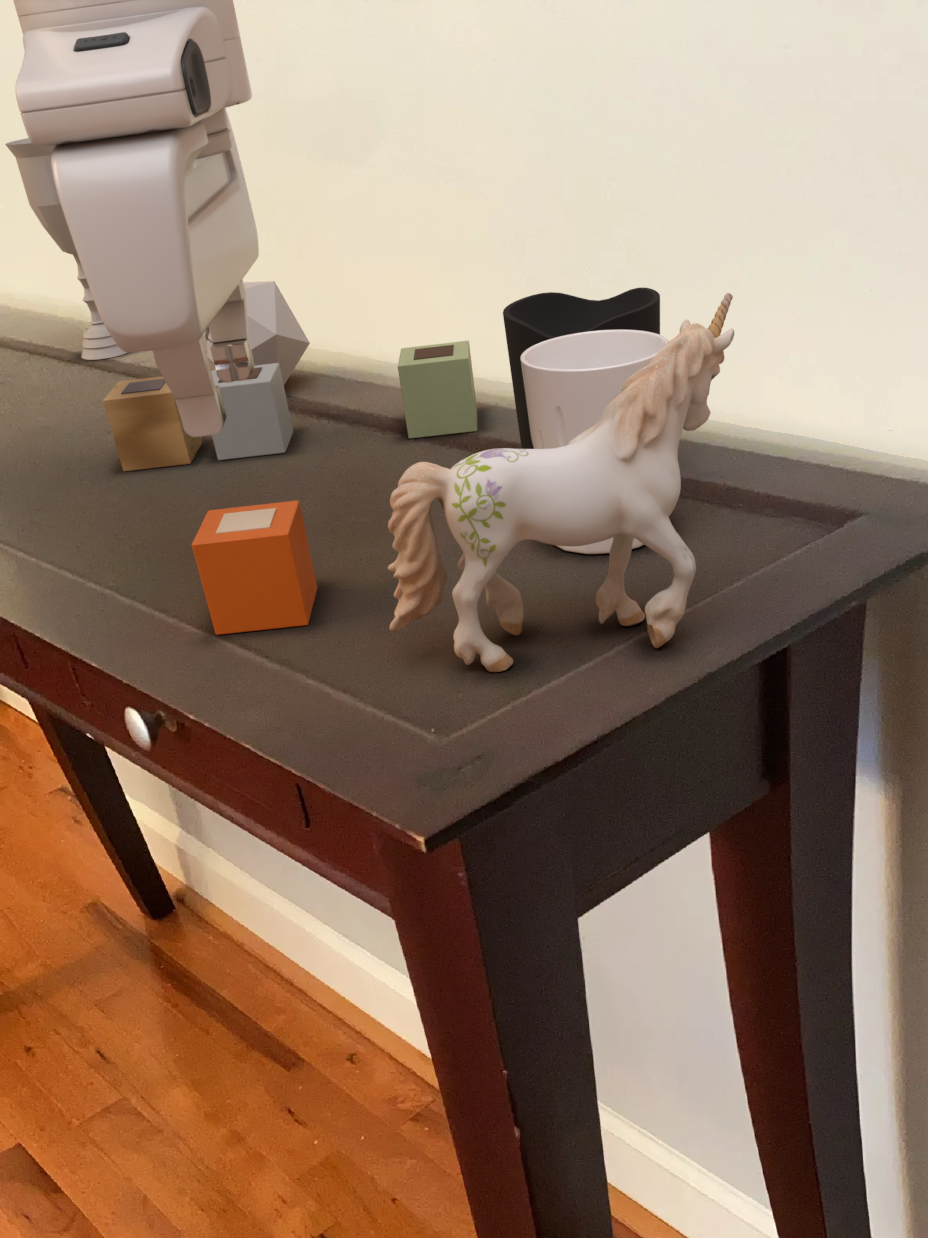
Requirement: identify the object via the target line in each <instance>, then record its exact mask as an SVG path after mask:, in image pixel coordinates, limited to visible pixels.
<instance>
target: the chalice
mask: <svg viewBox="0 0 928 1238" xmlns="http://www.w3.org/2000/svg"><path fill="white" fill-rule="evenodd" d="M4 145H5V146H6V147H7V149H8V150H9V151H10V152H11V154H12V155H13V156H14V157H15V160H16V164H17V168H18V171H19V173H20V177H21V181H22V184H23V188H24V190H25V194H26V198H27V201H28V204H29V206H30V208H31V210H32V212H33V213H34V215H35V216H36V219H37V220H38V221H39V223H40V224H41V226H42V227H43V228H44V230H45V231H46V232H47V234H48V235H49V237H51V239H52V241H54V243H55V244H56V246H58V248H59V249H60V250H61V252H62V253H66V254H69V255H72V256H73V258H74V261H75V262H76V265H77V280H78V282H80V283H81V285H82V287H83V291H84V295H83V298H82V301H83V302H84V303H85V304H86V305H87V307H88V309H89V311H90V316H91V321H90V322H89V324H91V325H90V326H89V327H87V328H85V329H84V331H83V335H82V338H83V340H82V344H81V348H82V352H81V357H80V358H81V359H83V360H86V361H92V360H93V361H95V360H104V359H111V358H115V357H119V356H123V355H126V354H128V353H129V352H124V351H122V350H121V349H120V348H119V347H118V345H117V344H116V343H115V341H114V340H113V338H112V337H111V335H110V333H109V332H108V330H107V328H106V327H105V325H104V323H103V321H102V319H101V317H100V315H99V312H98V310H97V307H96V305H95V302H94V299H93V296H92V293H91V291H90V288H89V285H88V282H87V279H86V277H85V274H84V271H83V268H82V266H81V263H80V260H79V257H78V254H77V251H76V248H75V245H74V242H73V239H72V236H71V234H70V231H69V228H68V225H67V222H66V219H65V216H64V213H63V210H62V206H61V203H60V200H59V197H58V193H57V189H56V186H55V182H54V177H53V172H52V165H51V156H52V151H53V149H54V147H55V146H56V145H53V146H45V147H38V146H35V145H34V144H33V143H32V142H31V141H30V139H29V137H27V138H22V139H17V140H13V141H9V142H7V143H5V144H4Z"/></svg>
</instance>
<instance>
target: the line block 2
mask: <svg viewBox="0 0 928 1238" xmlns="http://www.w3.org/2000/svg"><path fill="white" fill-rule="evenodd" d="M212 376H213V379H214V382H215V386H219V387H220V391H221V395H222V399H223V406H224V409H225V412H226V416H227V417H226V420H225V423H224V425H223V427H222V430H221V431H220V432H219V433H218V434H216V435H211V437H212V442H213V446H214V450H215V455H216V458H217V461H225V460H237V459H245V458H253V457H262V456H270V455H279V454H285V453H286V452H287V449H288V447H289V444H290V441H291V439H292V437H293V434H294V429H293V424H292V418H291V414H290V409H289V404H288V400H287V395H286V391H285V385H283V380H282V375H281V370H280V365H279V363H273V364H264V365H256V366H254V370H253V371H252V373H251V375H250V376H249V377H248V378H247V380H243V381H233V382H227V383H226V382H223V381H221V380H220V379H219V378H218V376H217V373H216V370H213V371H212Z"/></svg>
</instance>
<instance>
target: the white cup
mask: <svg viewBox="0 0 928 1238" xmlns="http://www.w3.org/2000/svg"><path fill="white" fill-rule="evenodd" d="M669 341H670V340H668V338H667V337H665V336H664V335H661V334H660V335H659V334H656V333H652V332H647V331H640V330H599V331H589V332H581V333H575V334H569V335H564V336H560V337H556V338H552V339H549V340H546V341H543V342H540V343H538V344H535V345H533V346H531V347H530V348H528V349H527V350H525V351H524V352H523V353H522V355H521V358H520V359H521V366H522V373H523V380H524V388H525V395H526V402H527V410H528V417H529V424H530V432H531V440H532V444H533V447H534V449H551V448H558V447H563V446H567V445H568V444H569V442H570V441H571V440H573V439H574V438H575V437H577V436H578V435H579V434H581V433H582V432H584V431H586V430H587V429H589V428H591V427H592V426H594V425H595V424H596V423H597V421H598V420H599V418H600V417H601V415H602V413H603V411H604V409H605V408H606V406H607V405H608V404H609V403H610V402H611V401H612V400H614V399H615V398H616V397H617V396H618V395H620V394H621V389H622V386H623V384H624V382H625V381H626V380H627V379H628V378H629V377H630V376H631V375H633V374H634V373H636V372H637V371H639V370H640V369H642V368H644V367H646V366H648V364H649V363H650V361H651V360H652V359H653V358H654V356H655V355H656V354H657V353H659V352H660V351H661V350H662V349H663V348H664V346H665V345H666V344H667V343H668V342H669ZM612 543H613V537H612V538H610V539H608V540H604V541H601V542H597V543H593V544H588V545H583V546H556V545H554V547H555V546H556V547H557V548H559V549H560V550H563V551H565V552H571V553H575V554H576V553H577V554H584V555H601V554H603V555H604V554H610V549H611V546H612ZM643 546H645V545H644V544H643V543H641V542H640V541H638V540H637V539H635V538H634V539H633V543H632V550H634V549H637V548H640V547H643Z"/></svg>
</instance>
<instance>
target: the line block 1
mask: <svg viewBox="0 0 928 1238" xmlns="http://www.w3.org/2000/svg"><path fill="white" fill-rule="evenodd" d="M102 403H103V407H104V410H105V413H106V417H107V420H108V424H109V427H110V430H111V435H112V438H113V442H114V444H115V448H116V451H117V454H118V459H119V461H120V465H121V468H122V471H123V472H131V471H141V470H148V469H157V468H166V467H174V466H183V465H191V464H192V462H193V460H194V458H196V455H197V453H198V452H199V450H200V448H201V446H202V444H203V440H202V437H192V436H189V435H187V433H186V432H185V431H184V428H183V425H182V421H181V417H180V414H179V410H178V406H177V403H176V399H175V398H174V397H173V395H172V393H171V391H170V389H169V387H168V385H167V384H166V382H165V380H164V378H163V376H162V375H161V376H154V377H153V376H152V377H146V378H145V377H143V378H135V379H127V380H119V381H118V382H117V383H116V384H115V385H114V386H113V388H112V389H111V390H110V391H109V392H108V394H106V396H105V397H104V398H103V399H102Z"/></svg>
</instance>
